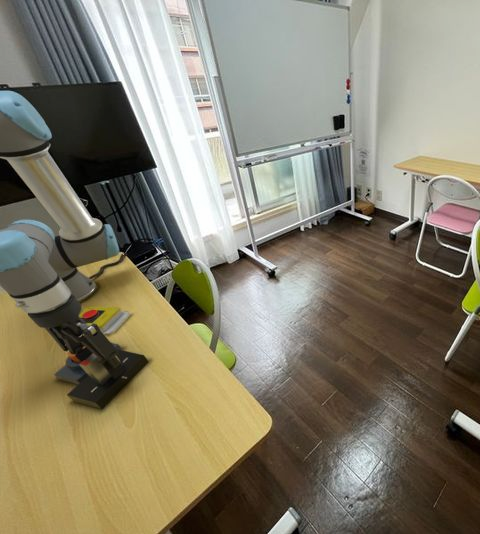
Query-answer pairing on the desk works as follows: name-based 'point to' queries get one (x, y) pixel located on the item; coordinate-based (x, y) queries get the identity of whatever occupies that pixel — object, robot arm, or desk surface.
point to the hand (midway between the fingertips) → (107, 370)
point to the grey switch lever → (96, 369)
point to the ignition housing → (74, 370)
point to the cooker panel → (108, 382)
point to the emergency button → (105, 318)
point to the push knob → (74, 356)
